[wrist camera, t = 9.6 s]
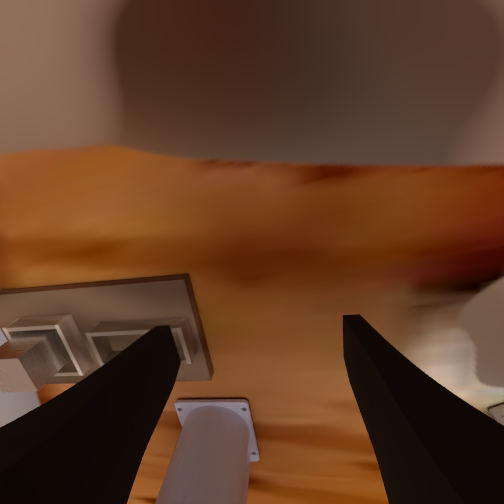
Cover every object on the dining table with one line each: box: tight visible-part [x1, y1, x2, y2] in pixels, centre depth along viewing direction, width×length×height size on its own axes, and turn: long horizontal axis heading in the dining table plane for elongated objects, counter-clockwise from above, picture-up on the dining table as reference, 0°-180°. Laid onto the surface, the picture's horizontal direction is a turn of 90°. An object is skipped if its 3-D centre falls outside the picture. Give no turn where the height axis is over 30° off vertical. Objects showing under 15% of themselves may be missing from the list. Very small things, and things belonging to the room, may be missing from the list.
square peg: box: [0, 329, 71, 392], centre depth 23 cm, size 4×4×4 cm
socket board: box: [0, 274, 213, 384], centre depth 24 cm, size 11×20×2 cm, turn 98°
